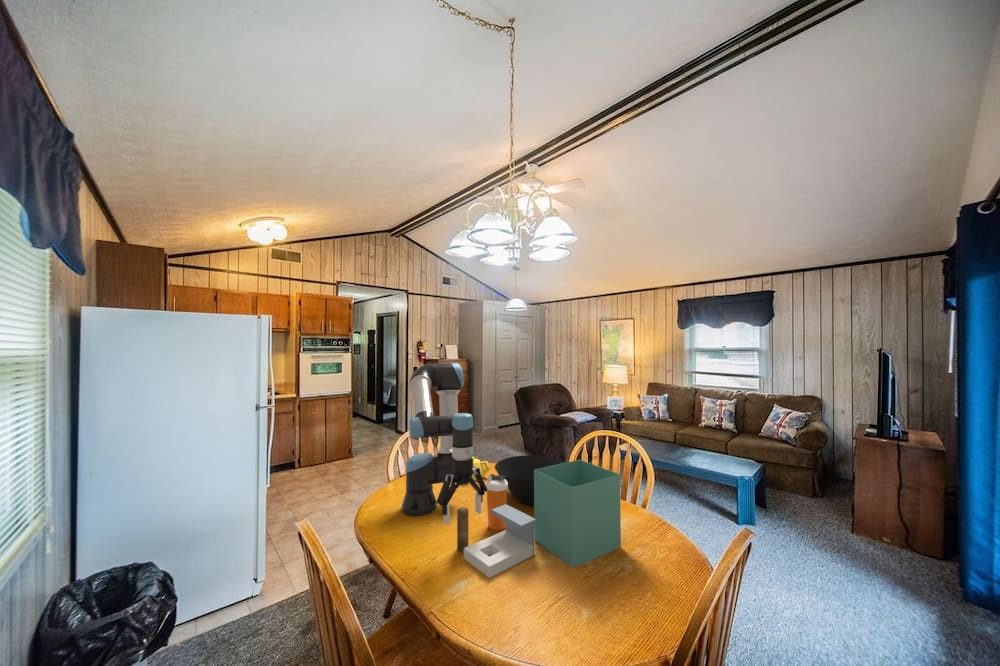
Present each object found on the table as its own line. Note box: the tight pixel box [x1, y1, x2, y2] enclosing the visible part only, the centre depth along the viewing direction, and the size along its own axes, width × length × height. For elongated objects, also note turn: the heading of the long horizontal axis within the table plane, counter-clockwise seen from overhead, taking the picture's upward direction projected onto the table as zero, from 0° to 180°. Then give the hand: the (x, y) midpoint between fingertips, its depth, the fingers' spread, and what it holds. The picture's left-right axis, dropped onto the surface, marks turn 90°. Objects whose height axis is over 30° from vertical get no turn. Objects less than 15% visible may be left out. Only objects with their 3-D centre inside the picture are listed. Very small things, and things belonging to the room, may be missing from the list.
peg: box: [456, 506, 469, 553], centre depth 134 cm, size 4×4×14 cm
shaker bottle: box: [485, 473, 508, 531], centre depth 151 cm, size 9×9×20 cm
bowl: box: [494, 454, 566, 505], centre depth 178 cm, size 36×36×15 cm
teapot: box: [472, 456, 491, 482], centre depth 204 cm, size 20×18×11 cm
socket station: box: [463, 503, 536, 579], centre depth 130 cm, size 16×20×12 cm
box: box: [533, 459, 622, 569], centre depth 138 cm, size 23×21×26 cm
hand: (462, 517), depth 134 cm, fingers open, 13 cm apart
